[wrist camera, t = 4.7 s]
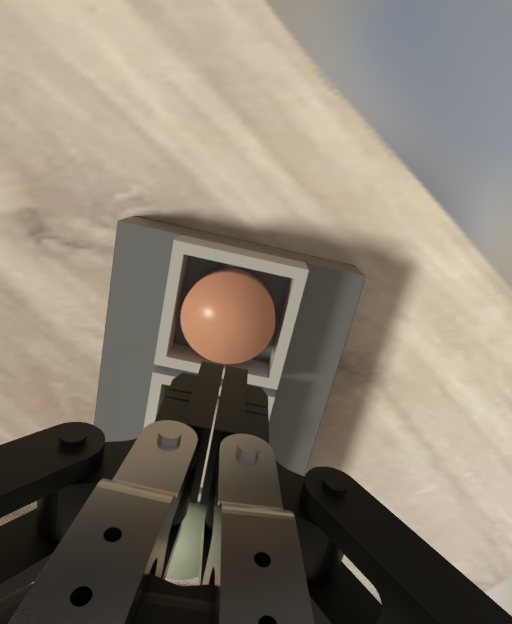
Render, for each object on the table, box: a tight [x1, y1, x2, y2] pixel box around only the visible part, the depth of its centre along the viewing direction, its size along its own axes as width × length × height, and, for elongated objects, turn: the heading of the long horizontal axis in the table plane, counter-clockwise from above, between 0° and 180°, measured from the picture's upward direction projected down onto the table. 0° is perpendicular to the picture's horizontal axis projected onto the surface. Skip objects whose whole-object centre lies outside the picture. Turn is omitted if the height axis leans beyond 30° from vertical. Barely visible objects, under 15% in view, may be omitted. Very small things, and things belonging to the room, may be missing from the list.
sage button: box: [166, 501, 207, 580], centre depth 26 cm, size 5×5×2 cm
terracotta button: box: [180, 268, 275, 364], centre depth 23 cm, size 5×5×2 cm
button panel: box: [94, 216, 366, 580], centre depth 27 cm, size 22×14×5 cm, turn 167°
